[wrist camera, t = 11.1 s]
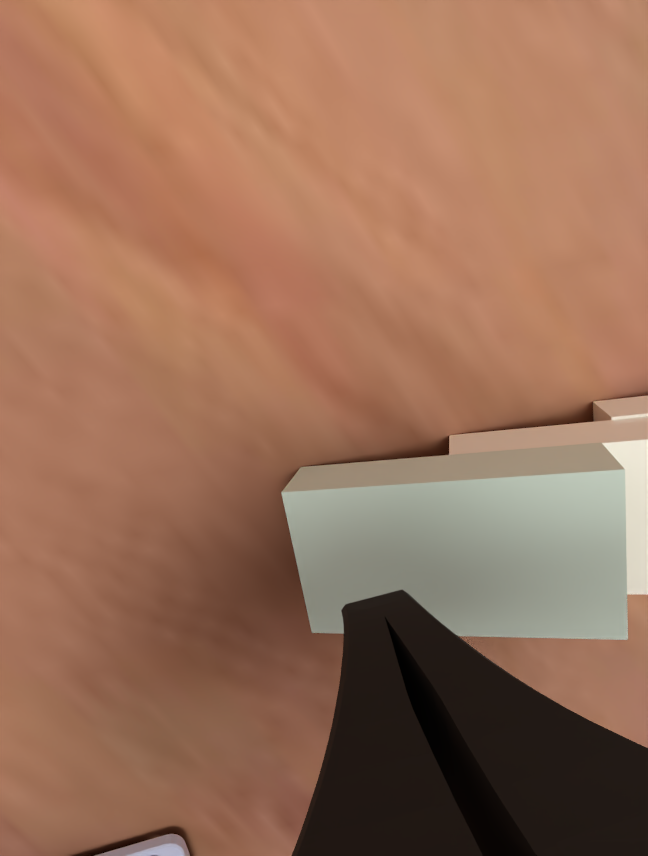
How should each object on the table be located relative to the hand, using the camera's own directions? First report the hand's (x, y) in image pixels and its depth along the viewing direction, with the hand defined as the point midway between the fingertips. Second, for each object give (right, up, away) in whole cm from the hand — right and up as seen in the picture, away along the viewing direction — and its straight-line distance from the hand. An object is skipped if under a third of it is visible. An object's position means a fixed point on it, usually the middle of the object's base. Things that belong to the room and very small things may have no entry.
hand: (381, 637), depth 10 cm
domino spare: (-2, +1, +4) cm, 5 cm away
